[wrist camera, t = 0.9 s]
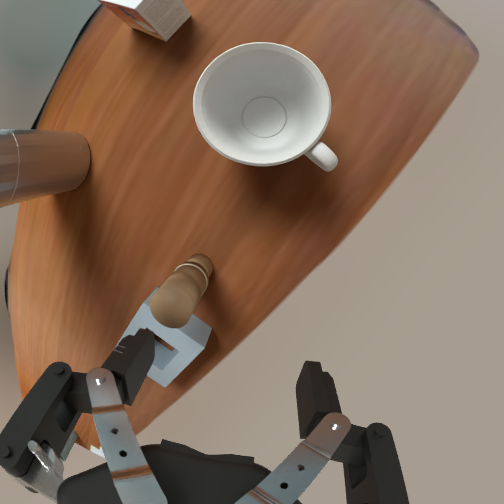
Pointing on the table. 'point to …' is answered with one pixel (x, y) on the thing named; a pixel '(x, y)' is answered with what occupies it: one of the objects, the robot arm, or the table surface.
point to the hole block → (170, 342)
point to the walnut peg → (181, 292)
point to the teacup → (264, 106)
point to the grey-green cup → (68, 446)
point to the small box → (151, 15)
